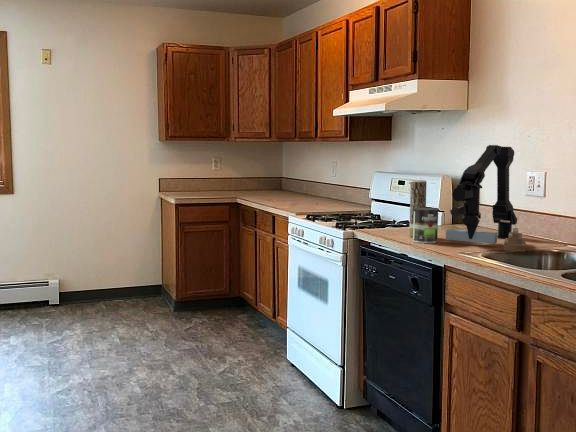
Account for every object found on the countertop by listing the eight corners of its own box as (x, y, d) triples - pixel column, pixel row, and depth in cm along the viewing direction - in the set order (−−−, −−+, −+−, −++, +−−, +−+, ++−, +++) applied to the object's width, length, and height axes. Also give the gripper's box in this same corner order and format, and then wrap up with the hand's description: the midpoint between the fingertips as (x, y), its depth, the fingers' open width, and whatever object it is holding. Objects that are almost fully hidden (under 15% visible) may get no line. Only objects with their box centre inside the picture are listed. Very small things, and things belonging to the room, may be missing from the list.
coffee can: (441, 243, 263) (442, 209, 261) (418, 243, 261) (419, 210, 259) (431, 239, 273) (432, 206, 271) (408, 240, 271) (409, 207, 269)
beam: (448, 238, 265) (448, 228, 265) (496, 242, 254) (497, 232, 254) (445, 239, 262) (445, 229, 262) (494, 243, 251) (494, 233, 251)
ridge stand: (504, 243, 262) (505, 227, 262) (525, 244, 260) (526, 228, 259) (503, 250, 246) (504, 233, 245) (525, 251, 243) (526, 234, 242)
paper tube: (422, 235, 282) (424, 179, 279) (426, 238, 275) (428, 180, 272) (407, 235, 282) (409, 179, 279) (411, 238, 275) (412, 181, 272)
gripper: (454, 197, 268) (453, 233, 270) (449, 201, 250) (448, 240, 252) (481, 198, 264) (480, 235, 266) (478, 202, 247) (477, 241, 248)
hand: (470, 238), depth 258 cm, fingers closed on beam, 4 cm apart
